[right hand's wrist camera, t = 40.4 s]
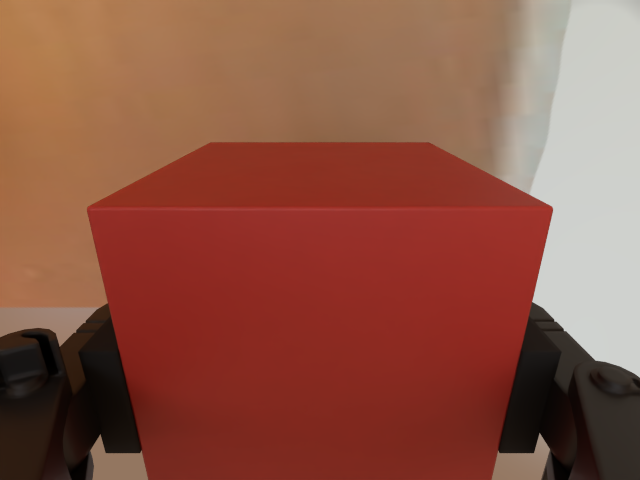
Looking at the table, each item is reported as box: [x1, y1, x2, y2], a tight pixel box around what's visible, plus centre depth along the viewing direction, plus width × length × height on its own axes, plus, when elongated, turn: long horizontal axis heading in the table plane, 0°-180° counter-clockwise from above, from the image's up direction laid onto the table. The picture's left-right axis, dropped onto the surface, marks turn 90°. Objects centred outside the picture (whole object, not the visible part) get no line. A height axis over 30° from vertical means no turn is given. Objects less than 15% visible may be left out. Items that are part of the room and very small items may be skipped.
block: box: [87, 143, 553, 480], centre depth 12 cm, size 8×8×8 cm
